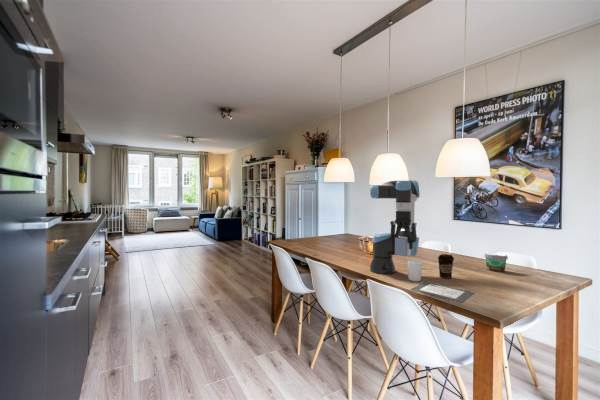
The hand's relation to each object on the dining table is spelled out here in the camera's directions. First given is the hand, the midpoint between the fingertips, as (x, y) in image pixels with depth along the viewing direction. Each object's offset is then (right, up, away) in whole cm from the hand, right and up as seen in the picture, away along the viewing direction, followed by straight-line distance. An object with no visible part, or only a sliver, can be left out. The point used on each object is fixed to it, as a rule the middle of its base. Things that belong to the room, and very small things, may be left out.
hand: (402, 254), depth 154 cm
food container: (+67, -16, +26) cm, 74 cm away
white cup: (+10, -16, +10) cm, 22 cm away
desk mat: (+16, -17, -9) cm, 25 cm away
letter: (+16, -17, -9) cm, 25 cm away
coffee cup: (+29, -16, +13) cm, 36 cm away
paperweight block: (0, 0, 0) cm, 0 cm away
